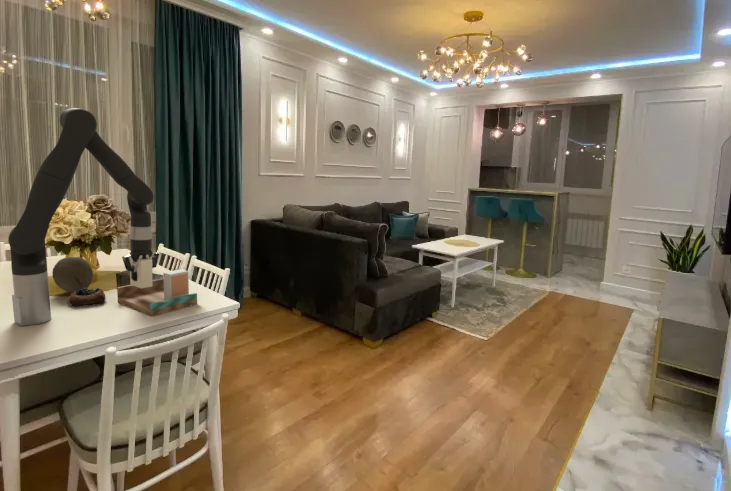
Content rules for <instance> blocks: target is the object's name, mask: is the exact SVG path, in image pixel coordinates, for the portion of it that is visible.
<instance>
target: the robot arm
mask: <svg viewBox="0 0 731 491" xmlns="http://www.w3.org/2000/svg"><path fill="white" fill-rule="evenodd" d="M59 122H60V126H61V128H62V129H61V133H60V135H59V138H58V140H57V143H56V144H55V146H54V148H53V149H52V150H51V151H50V152H49V154H47V156H46V157H45V158H44V160H43V162H42V163H41V165H40V166H39V168H38V170H37V172H36V175H35V177H34V179H33V182H32V184H31V188H30V191H29V194H28V198H27V203H26V206H25V209H24V212H23V214H22V215H21V217H20V219H19V220H18V222H17V223H16V226H14V227H13V228H12V229H11V230H10V232H9V235H8V239H7V241H8V245H9V249H10V262H11V264H10V265H11V273H12V274H11V276H12V284H13V285H12V286H13V294H12V295H11V299H12V300H11V301H12V311H13V319H14V323H16V324H17V325H18V326H20V327H23V326H33V325H35V326H36V325H39V324H43V323H46V322H49V321H50V320H51V319H52V310H51V301H50V300H51V299H50V287H49V274H48V263H47V262H48V260H47V250H46V237H47V234H48V230H49V227H50V223H51V221H52V218H53V217H54V215H55V213H56V211H58V208H59V207H60V205H61V203H62V202H63V200H64V198H65V195H66V194H67V193H68V190H69V188H70V185H71V183H72V181H73V179H74V176H75V174H76V172H77V168H78V165H79V162H80V161H81V157H82V155H83V153H84V151H85V150H87V151H88V152H89V153H90V154H91V155H92V156H93V158H94V159H95V160H96V161H97V162H98V164H100V165H101V167H102V168H103V169H104V170H105V172H106V173H107V175H108V176H110V177H111V178H112V179H113V181H114V182H116V184H117V185H118V186H120V187H121V188H123V189H125V191H126V192H127V194H126V201H127V206H128V210H129V214H130V228H129V229H130V230H129V244H130V245H129V246H130V248H129V250H130V252H129V254H128V255H122V258H121V259H122V261H123V264H124V268H125V271H126V270H128V271H131V278H132V279H133V281H137V266H138V260H141V259H152V269H154V268H157V265H158V261H159V259H160V258H159V257H160V253H159V252H153V250H152V249H153V232H152V231H153V230H152V216H151V212H150V211H148V206H149V205H151V204H152V203H153V202H154V197H155V196H154V192H153V191H152V189H151V188H150V187H149V185H147V184H146V182H144V180H142V178H140V177H138V176H137V175H136V174H135V173H134V170H133V169H132V168H131V167H130V166H129V164H127V162H126V161H125V160H124V159H123V158H122V157H121V156H120V155H119V154H117V152H115V151H114V149H112V147H110V146H109V145H108V144H107V142H105V141H104V139H103V138H102V137H101V135H100V134H99V133H98V132H97V126H98V124H97V120H96V117H95V116H94V114H93V113H92V112H91V111H89V110H86V109H84V108H77V107H74V108H73V107H72V108H71V107H70V108H67V109H64V110H63V111H62V112H61V113H60V116H59ZM130 258H132V259H133V261H132V266H131V264H130ZM134 262H136V264H135V263H134Z"/></svg>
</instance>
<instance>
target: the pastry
mask: <svg viewBox="0 0 731 491" xmlns="http://www.w3.org/2000/svg"><path fill="white" fill-rule="evenodd" d="M67 301H68V303H69V304H70V306H72V307H74V308H80V307H84V308H85V307H91V306H97V305H102V304H105V302H106V294H105V292H104V290H103V289H102V288H100V287H96V288H91V289H90V288H89V289H88V288H83V289H80V290H79V291H75V292H73V293H71V292H70V295H69V296H68V300H67Z"/></svg>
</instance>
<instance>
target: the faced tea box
mask: <svg viewBox="0 0 731 491" xmlns="http://www.w3.org/2000/svg"><path fill="white" fill-rule="evenodd" d="M162 275H163V279H164V299H165V300H169V299H173V298H177V297H181V296H185V295H189V294H190V293H189V291H190V290H189V289H190V288H189V287H190V285H189V278H190V276H189V270H186V269H183V268H181V269H176V270H171V271H165V272H163V274H162Z"/></svg>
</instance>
